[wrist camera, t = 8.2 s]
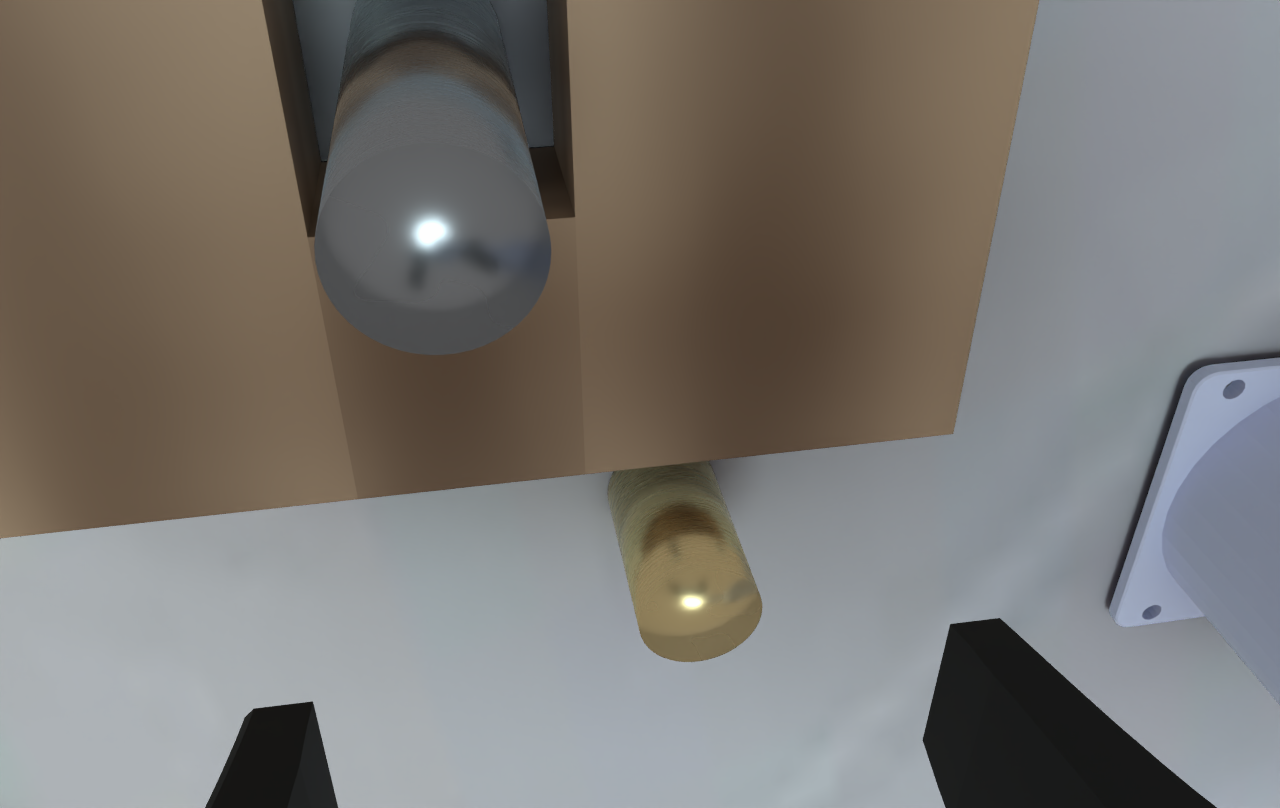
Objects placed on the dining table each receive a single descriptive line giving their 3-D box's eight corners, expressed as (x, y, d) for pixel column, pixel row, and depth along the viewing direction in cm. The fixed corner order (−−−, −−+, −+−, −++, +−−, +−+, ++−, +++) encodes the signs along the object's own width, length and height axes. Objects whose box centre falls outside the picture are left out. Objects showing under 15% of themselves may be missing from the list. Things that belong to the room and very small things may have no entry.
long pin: (497, -39, 17) (550, 139, 11) (502, 108, 19) (552, 348, 12) (342, -40, 17) (298, 146, 10) (359, 112, 18) (329, 362, 12)
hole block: (1027, -511, 15) (1147, -546, 13) (894, 351, 23) (953, 433, 20) (-438, -543, 12) (-645, -594, 10) (-17, 440, 20) (-75, 546, 18)
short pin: (716, 438, 23) (765, 563, 20) (712, 522, 25) (758, 652, 21) (606, 450, 23) (638, 579, 20) (608, 535, 24) (638, 669, 21)
